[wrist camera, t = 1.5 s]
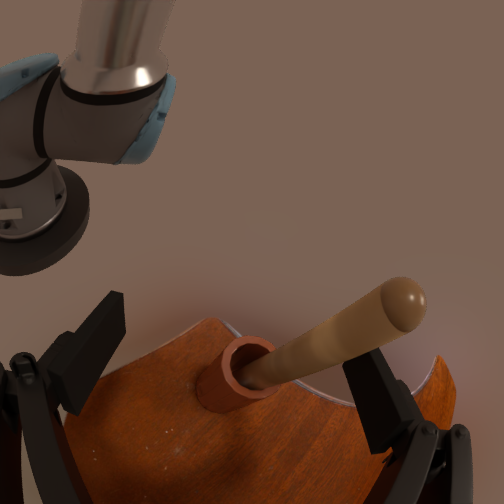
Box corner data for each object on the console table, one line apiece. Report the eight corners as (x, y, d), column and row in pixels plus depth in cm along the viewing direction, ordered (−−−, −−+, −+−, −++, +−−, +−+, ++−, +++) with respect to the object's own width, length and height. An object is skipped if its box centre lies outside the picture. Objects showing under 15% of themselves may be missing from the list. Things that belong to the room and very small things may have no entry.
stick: (206, 389, 26) (397, 292, 9) (220, 373, 28) (405, 255, 10) (224, 403, 26) (434, 332, 8) (237, 387, 28) (438, 292, 10)
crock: (185, 392, 26) (207, 368, 19) (215, 358, 30) (247, 323, 23) (224, 423, 25) (263, 412, 18) (251, 387, 29) (295, 362, 22)
